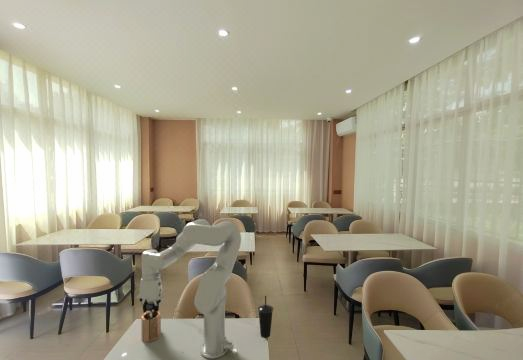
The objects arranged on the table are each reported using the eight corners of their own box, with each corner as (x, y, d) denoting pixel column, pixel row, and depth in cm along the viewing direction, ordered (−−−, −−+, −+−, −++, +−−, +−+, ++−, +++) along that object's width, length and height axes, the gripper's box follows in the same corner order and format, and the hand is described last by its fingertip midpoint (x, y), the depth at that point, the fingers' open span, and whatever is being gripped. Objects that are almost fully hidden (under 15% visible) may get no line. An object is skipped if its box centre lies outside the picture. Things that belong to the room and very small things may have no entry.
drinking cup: (271, 340, 127) (271, 300, 126) (256, 338, 128) (256, 298, 127) (274, 331, 134) (274, 293, 133) (259, 329, 136) (259, 291, 135)
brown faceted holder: (165, 329, 135) (165, 309, 134) (154, 343, 125) (154, 320, 124) (150, 328, 136) (150, 307, 136) (138, 341, 126) (137, 319, 125)
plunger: (158, 331, 131) (158, 301, 131) (153, 337, 126) (152, 306, 126) (149, 330, 132) (149, 300, 132) (143, 336, 127) (143, 305, 127)
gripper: (170, 273, 131) (170, 309, 131) (139, 271, 133) (139, 306, 134) (162, 279, 123) (162, 317, 124) (129, 277, 126) (130, 314, 126)
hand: (150, 311), depth 129 cm, fingers open, 4 cm apart
